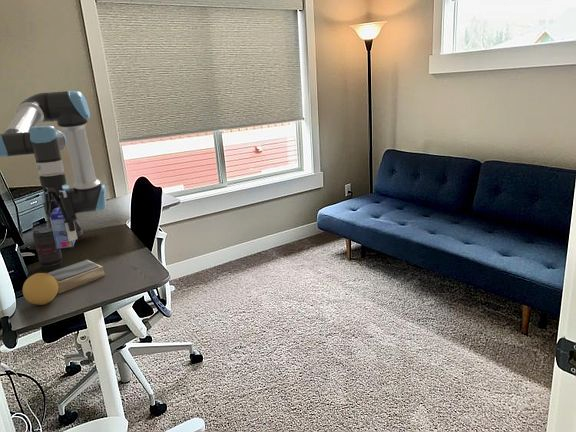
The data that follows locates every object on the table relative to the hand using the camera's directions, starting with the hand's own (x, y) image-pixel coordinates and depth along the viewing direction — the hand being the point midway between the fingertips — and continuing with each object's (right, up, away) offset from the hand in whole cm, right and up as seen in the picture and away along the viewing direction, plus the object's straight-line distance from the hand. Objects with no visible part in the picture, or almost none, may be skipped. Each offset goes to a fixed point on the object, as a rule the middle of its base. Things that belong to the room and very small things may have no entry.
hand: (65, 237), depth 151 cm
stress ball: (-1, -21, -11) cm, 23 cm away
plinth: (+1, -16, +5) cm, 16 cm away
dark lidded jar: (-15, -12, +19) cm, 27 cm away
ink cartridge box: (0, -3, +1) cm, 3 cm away
